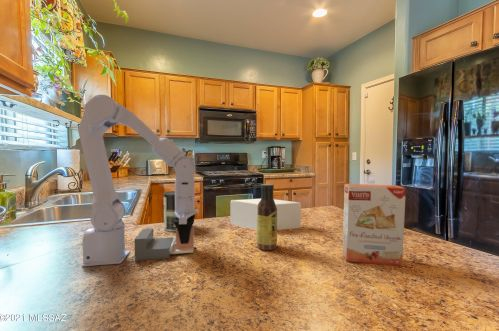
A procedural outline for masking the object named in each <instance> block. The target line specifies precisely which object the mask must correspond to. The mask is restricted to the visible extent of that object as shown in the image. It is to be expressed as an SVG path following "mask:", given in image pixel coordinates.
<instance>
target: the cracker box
mask: <svg viewBox="0 0 499 331" xmlns="http://www.w3.org/2000/svg"><path fill="white" fill-rule="evenodd" d="M343 187H344V189H343V192H344V193H343V194H344V195H343V196H344V198H343V223H342V224H343V226H342V228H343V229H342V255H343V256H344V259H345V261H346V262H351V263H352V262H353V263H364V264H371V265H373V264H375V265H385V266H396V267H403V258H404V255H403V254H404V236H405V235H404V234H405V213H406V212H405V211H406V210H405V209H406V193H407V192H406V191H407V190H406V188H405V187H403V186H400V185H396V184H395V185H393V184H391V185H390V184H372V183H371V184H369V183H368V184H367V183H366V184H364V183H344V186H343Z"/></svg>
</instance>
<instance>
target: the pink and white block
mask: <svg viewBox="0 0 499 331" xmlns="http://www.w3.org/2000/svg"><path fill="white" fill-rule="evenodd" d="M194 227H195V225H192V228H191V231H190V238H189V242H188V244H181V242H180V238H179V233H178V230H177V228H176V232H175V238H176V242H175V245H174V248H173V251H172V252H170V255H177V254H178V255H179V254H188V253H189V254H191V253H194V251H195V250H194V248H195V228H194Z"/></svg>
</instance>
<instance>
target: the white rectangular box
mask: <svg viewBox="0 0 499 331" xmlns="http://www.w3.org/2000/svg"><path fill="white" fill-rule="evenodd" d="M273 199H274V202H275V205H276V208H277V231H280V230H291V229H293V230H294V229H301V226H302V225H301V224H302V202H298V201H291V200H290V201H289V200H283V199H277V198H273ZM260 200H261V198H248V199H246V198H245V199H231V200H230V208H229V209H230V210H229V211H230V212H229V213H230V214H229V215H230V225H233V226H237V227H241V228H246V229H251V230H255V231H257V214H258V204H259V202H260Z"/></svg>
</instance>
